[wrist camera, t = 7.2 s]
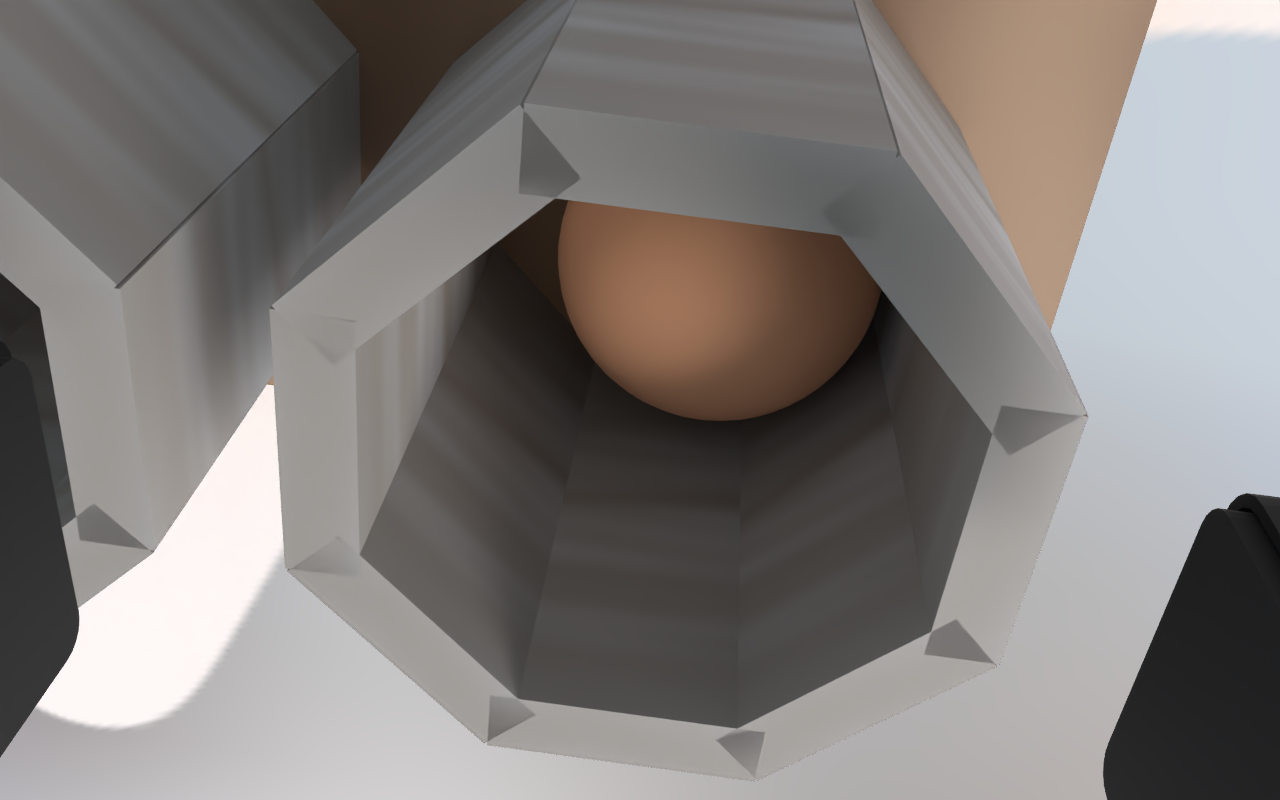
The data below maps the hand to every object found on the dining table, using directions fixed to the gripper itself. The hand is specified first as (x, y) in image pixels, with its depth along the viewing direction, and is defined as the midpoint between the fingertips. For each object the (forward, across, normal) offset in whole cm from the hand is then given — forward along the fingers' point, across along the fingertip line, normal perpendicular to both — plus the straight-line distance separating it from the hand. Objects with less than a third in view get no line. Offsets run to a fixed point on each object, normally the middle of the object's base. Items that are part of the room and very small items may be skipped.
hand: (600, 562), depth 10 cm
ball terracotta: (+8, -1, +1) cm, 8 cm away
